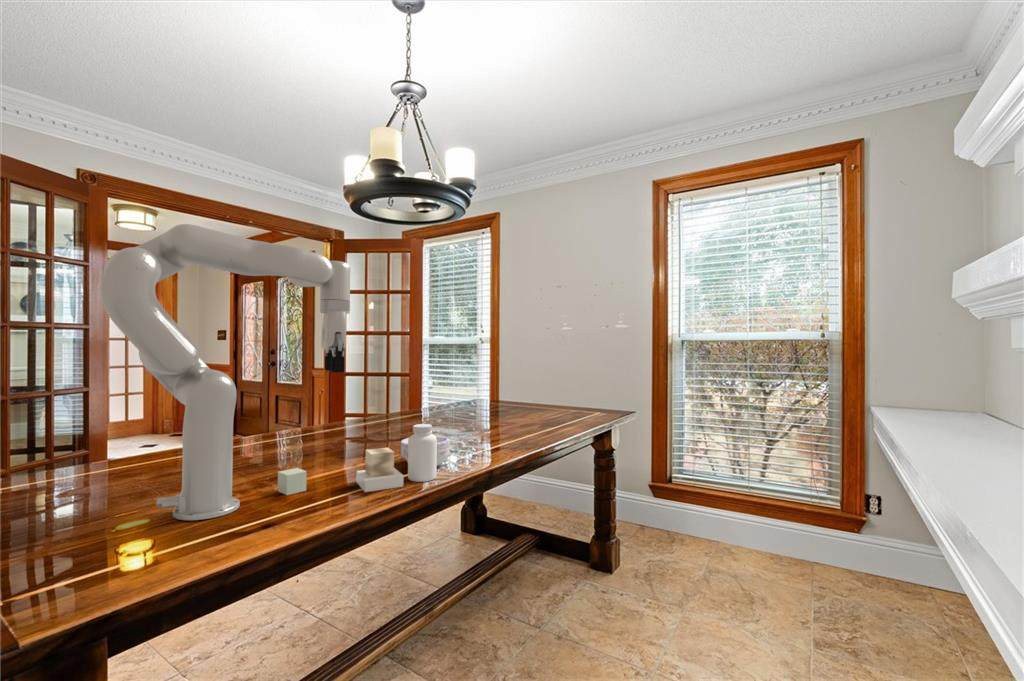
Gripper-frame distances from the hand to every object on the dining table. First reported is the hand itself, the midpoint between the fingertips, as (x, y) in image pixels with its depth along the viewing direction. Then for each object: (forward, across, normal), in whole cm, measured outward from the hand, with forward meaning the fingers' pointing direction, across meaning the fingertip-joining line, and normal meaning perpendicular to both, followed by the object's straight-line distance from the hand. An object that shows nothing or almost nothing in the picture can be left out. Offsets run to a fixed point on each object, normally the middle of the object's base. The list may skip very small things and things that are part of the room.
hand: (334, 371), depth 127 cm
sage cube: (+30, +1, -10) cm, 32 cm away
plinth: (+30, +6, +11) cm, 33 cm away
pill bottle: (+31, +6, +23) cm, 39 cm away
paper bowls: (+31, -8, +29) cm, 43 cm away
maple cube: (+27, +6, +11) cm, 30 cm away
